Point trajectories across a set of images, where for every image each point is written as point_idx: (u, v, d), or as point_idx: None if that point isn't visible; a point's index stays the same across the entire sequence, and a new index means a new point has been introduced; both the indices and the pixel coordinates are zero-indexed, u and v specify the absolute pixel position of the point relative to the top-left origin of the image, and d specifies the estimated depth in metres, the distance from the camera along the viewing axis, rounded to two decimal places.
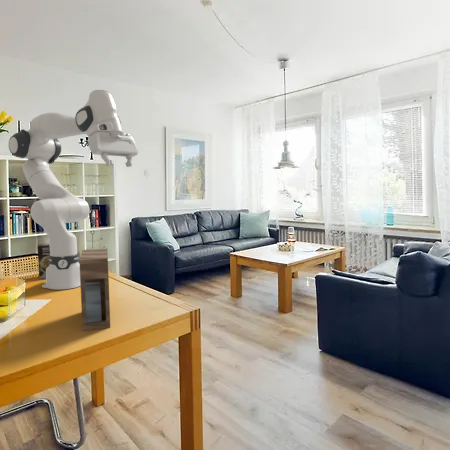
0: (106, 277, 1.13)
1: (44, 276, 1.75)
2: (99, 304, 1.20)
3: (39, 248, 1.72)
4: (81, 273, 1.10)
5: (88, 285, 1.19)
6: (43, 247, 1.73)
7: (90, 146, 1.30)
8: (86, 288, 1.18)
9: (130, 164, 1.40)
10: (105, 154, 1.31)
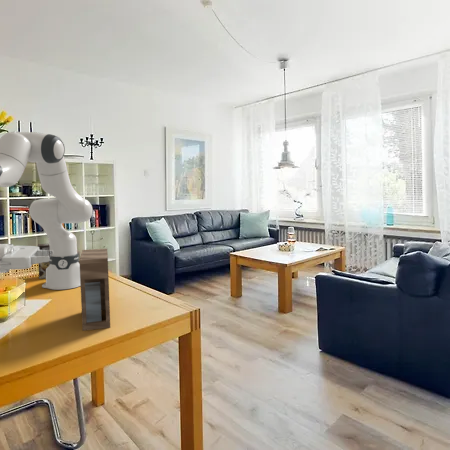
0: (106, 277, 1.13)
1: (44, 276, 1.75)
2: (99, 304, 1.20)
3: (39, 248, 1.72)
4: (81, 273, 1.10)
5: (88, 285, 1.19)
6: (43, 247, 1.73)
7: None
8: (86, 288, 1.18)
9: None
10: None
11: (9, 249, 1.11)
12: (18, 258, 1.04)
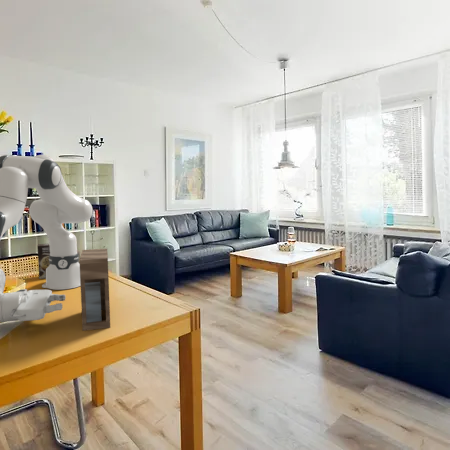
0: (106, 277, 1.13)
1: (44, 276, 1.75)
2: (99, 304, 1.20)
3: (39, 248, 1.72)
4: (81, 273, 1.10)
5: (88, 285, 1.19)
6: (43, 247, 1.73)
7: None
8: (86, 288, 1.18)
9: None
10: None
11: (23, 298, 1.13)
12: (32, 310, 1.07)
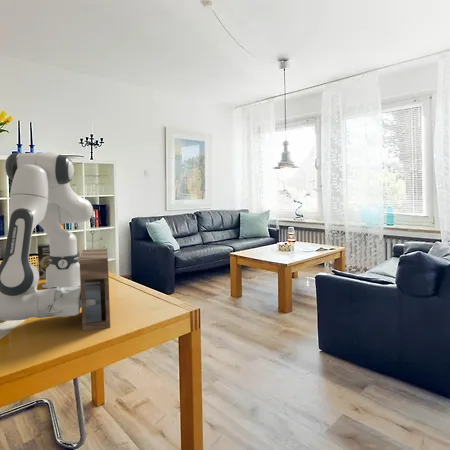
0: (106, 277, 1.13)
1: (44, 276, 1.75)
2: (99, 304, 1.20)
3: (39, 248, 1.72)
4: (81, 273, 1.10)
5: (88, 285, 1.19)
6: (43, 247, 1.73)
7: None
8: (86, 288, 1.18)
9: None
10: None
11: (57, 294, 1.16)
12: (68, 306, 1.10)
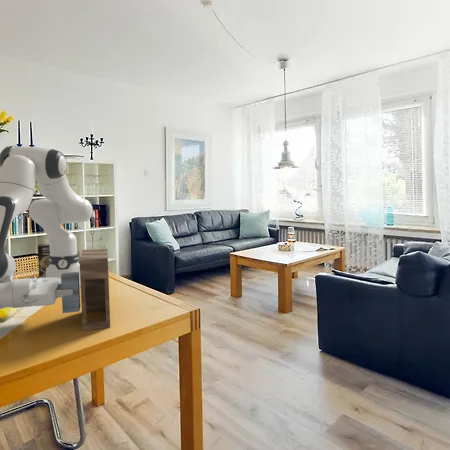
0: (106, 277, 1.13)
1: (44, 276, 1.75)
2: (77, 294, 1.17)
3: (39, 248, 1.72)
4: (81, 273, 1.10)
5: (66, 275, 1.17)
6: (43, 247, 1.73)
7: None
8: (63, 278, 1.15)
9: None
10: None
11: (33, 284, 1.14)
12: (43, 295, 1.07)
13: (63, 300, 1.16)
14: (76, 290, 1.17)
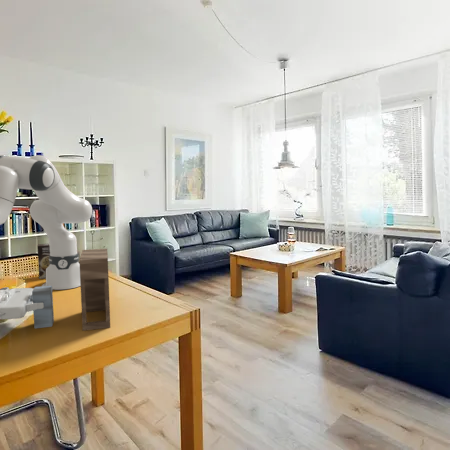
0: (106, 277, 1.13)
1: (44, 276, 1.75)
2: (49, 309, 1.15)
3: (39, 248, 1.72)
4: (81, 273, 1.10)
5: (37, 289, 1.15)
6: (43, 247, 1.73)
7: None
8: (35, 292, 1.13)
9: None
10: None
11: (4, 296, 1.12)
12: (12, 308, 1.05)
13: (35, 315, 1.14)
14: (48, 305, 1.15)
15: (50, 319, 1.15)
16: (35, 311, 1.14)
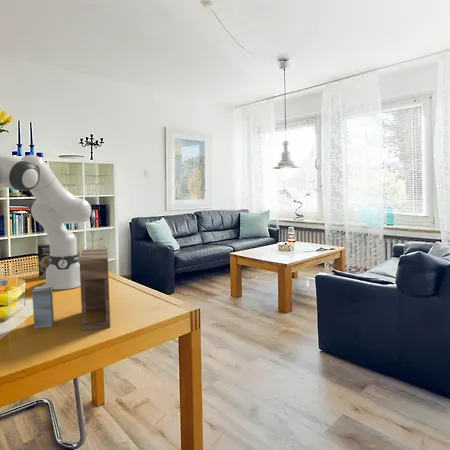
0: (106, 277, 1.13)
1: (44, 276, 1.75)
2: (49, 309, 1.15)
3: (39, 248, 1.72)
4: (81, 273, 1.10)
5: (37, 289, 1.15)
6: (43, 247, 1.73)
7: None
8: (35, 292, 1.13)
9: None
10: None
11: None
12: None
13: (35, 315, 1.14)
14: (48, 305, 1.15)
15: (50, 319, 1.15)
16: (35, 311, 1.14)
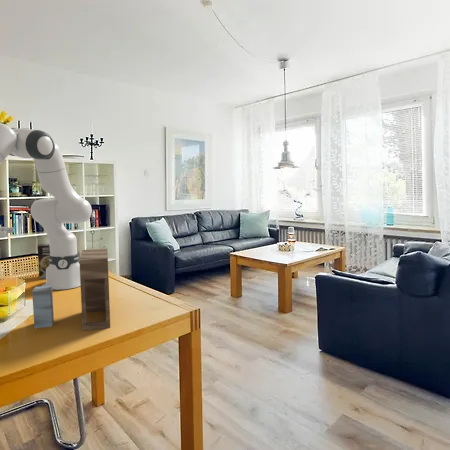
0: (106, 277, 1.13)
1: (44, 276, 1.75)
2: (49, 309, 1.15)
3: (39, 248, 1.72)
4: (81, 273, 1.10)
5: (37, 289, 1.15)
6: (43, 247, 1.73)
7: None
8: (35, 292, 1.13)
9: None
10: None
11: None
12: None
13: (35, 315, 1.14)
14: (48, 305, 1.15)
15: (50, 319, 1.15)
16: (35, 311, 1.14)
